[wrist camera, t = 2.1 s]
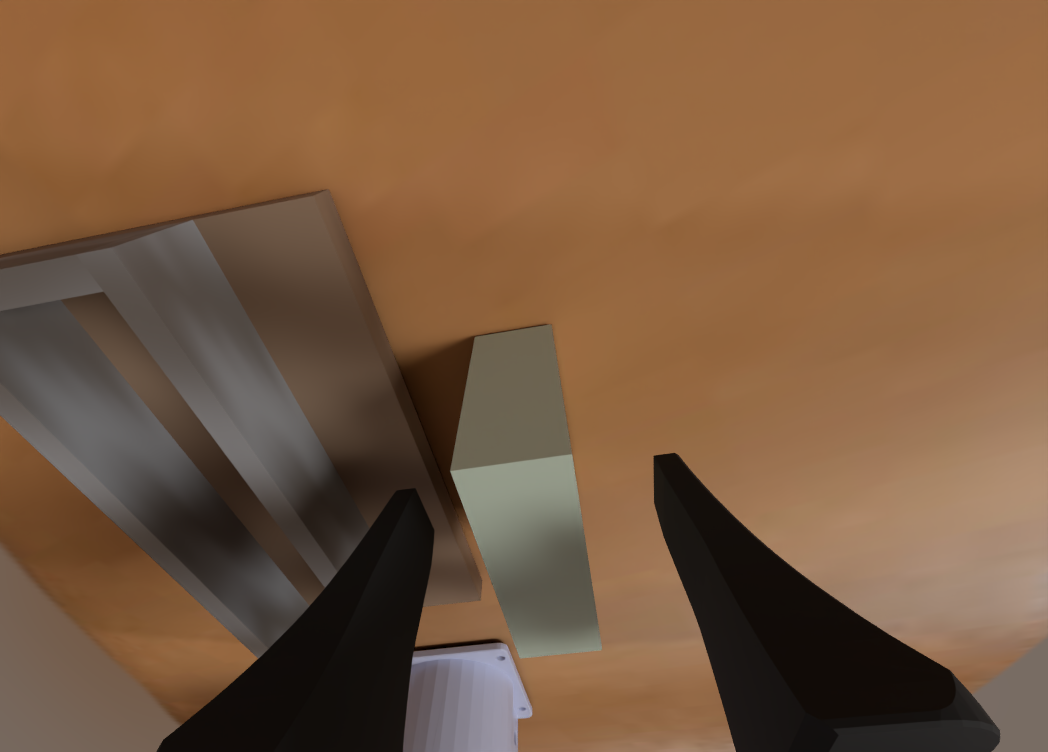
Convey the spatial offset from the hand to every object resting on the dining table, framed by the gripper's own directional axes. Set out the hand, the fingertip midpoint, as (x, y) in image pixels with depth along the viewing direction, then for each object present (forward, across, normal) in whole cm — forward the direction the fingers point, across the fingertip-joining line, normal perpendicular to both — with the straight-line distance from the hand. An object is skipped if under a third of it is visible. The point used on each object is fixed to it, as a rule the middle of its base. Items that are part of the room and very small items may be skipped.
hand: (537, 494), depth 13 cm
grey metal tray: (+3, +10, 0) cm, 10 cm away
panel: (+3, 0, 0) cm, 3 cm away
